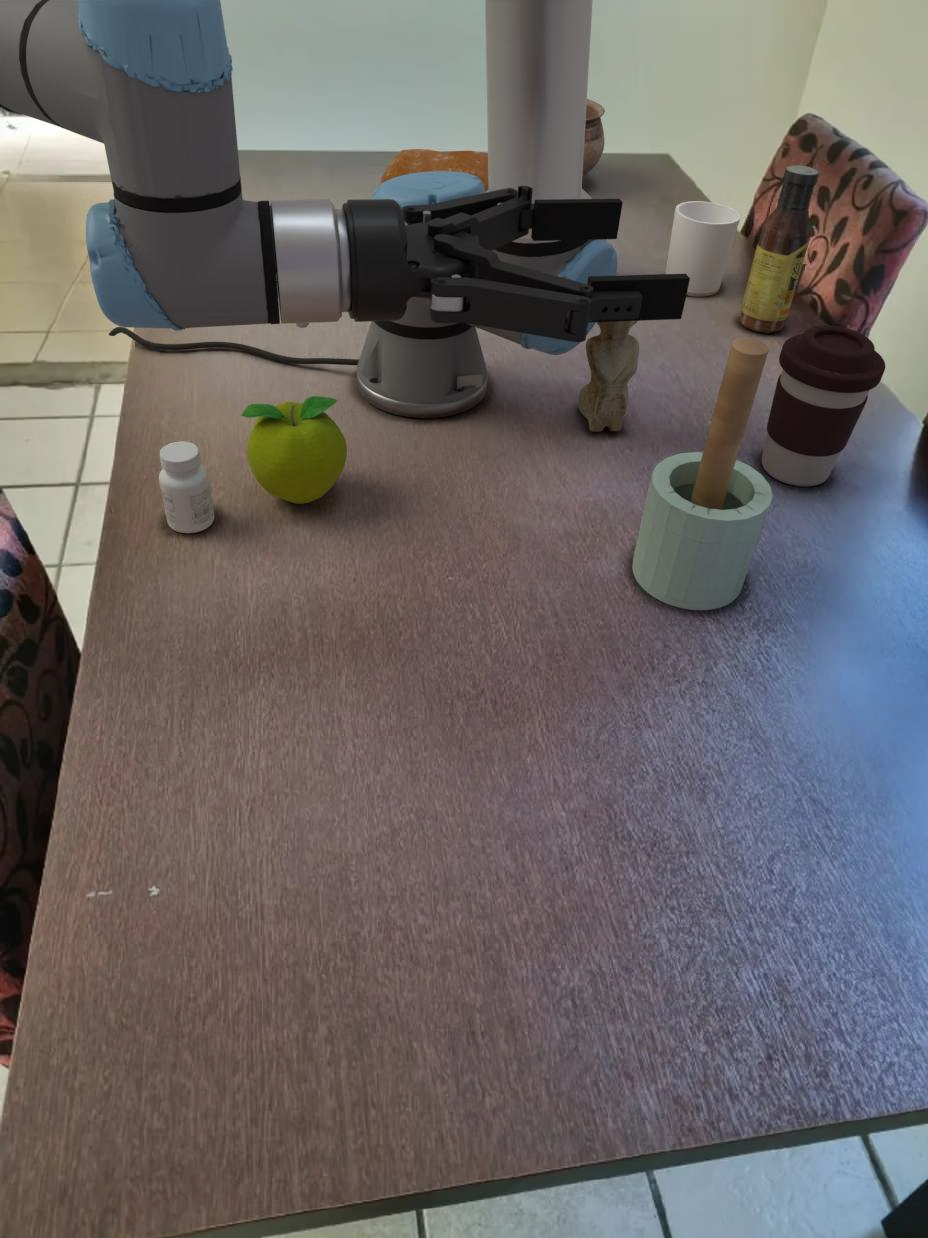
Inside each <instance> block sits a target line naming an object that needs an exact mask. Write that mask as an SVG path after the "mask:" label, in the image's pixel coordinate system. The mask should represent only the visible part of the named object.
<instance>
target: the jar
mask: <svg viewBox="0 0 928 1238" xmlns="http://www.w3.org/2000/svg"><path fill="white" fill-rule="evenodd" d="M702 454H703V451H693V452H681V453H677V454H674V455H670V456H668V457H666V458H664V459H662V460H661V461H660V462H658V463H657V464H656V465H655V466H654V469H653V471H652V473H651V477H650V481H649V486H648V491H647V494H646V498H645V503H644V508H643V512H642V516H641V521H640V525H639V526H640V527H639V530H638V534H637V539H636V544H635V548H634V552H633V558H632V559H633V560H632V567H631V568H632V573H633V576H634V579H635V581H636V583H638V585H639V586H640V587H641V588H642V589H643V590H644V591H645V592H646V593H647V594H649V596H651V597H653V598H654V599H656V600H658V601H659V602H662V603H664V604H666V605H669V606H673V607H675V608H679V609H683V610H689V611H710V610H716V609H720V608H724V607H725V606H727V605H730V604H731V603H733V602H734V601H735V600H736V599H737V598H738V597H739V596H740V594H741V592H742V589H743V587H744V583H745V581H746V578H747V575H748V572H749V569H750V566H751V562H752V560H753V557H754V554H755V551H756V548H757V545H758V542H759V539H760V536H761V534H762V530H763V527H764V524H765V521H766V518H767V515H768V512H769V509H770V506H771V503H772V500H773V496H774V495H773V491H772V488H771V484H769V482H768V481H767V480H766V478H765V476H763V474H761V473H760V472H759V471H757V469H754V468H753V467H752V466H751V465H749V464H746V463H745V462H742V461H740V460H738V459H736V463H735V466H734V470H733V473H732V476H731V480H730V483H729V487H728V490H727V493H726V497H725V500H724V504H723V507H722V509H723V510H719V509H709V508H706V507H702V506H699V505H695V504H693V503H691V502H689V501H690V500H691V496H692V492H693V488H694V484H695V481H696V477H697V473H698V469H699V466H700V462H701V458H702Z"/></svg>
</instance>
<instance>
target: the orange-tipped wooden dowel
mask: <svg viewBox="0 0 928 1238" xmlns="http://www.w3.org/2000/svg"><path fill="white" fill-rule="evenodd" d="M769 349H770V348H769V346H768V345H767V344H766V343H765V342H763V341H761V340H759V339H756V338H750V337H739V338H736V339H733V341H732V342H731V344H730V348H729V351H728V356H727V360H726V363H725V367H724V371H723V375H722V379H721V383H720V386H719V391H718V394H717V397H716V402H715V406H714V408H713V412H712V417H711V420H710V424H709V428H708V431H707V435H706V439H705V443H704V447H703V451H702V452H703V454H702V458H701V462H700V466H699V469H698V473H697V477H696V481H695V484H694V488H693V492H692V496H691V500H690V501H689V502H691V503H693V504H695V505H699V506H702V507H706V508H709V509H719V510H723V509H722V507H723V504H724V500H725V497H726V493H727V490H728V487H729V483H730V480H731V476H732V473H733V470H734V466H735V463H736V460H738V456H739V452H740V449H741V446H742V442H743V440H744V435H745V432H746V428H747V425H748V422H749V419H750V415H751V412H752V408H753V405H754V402H755V398H756V395H757V392H758V389H759V384H760V381H761V378H762V374H763V370H764V367H765V364H766V360H767V357H768V354H769Z"/></svg>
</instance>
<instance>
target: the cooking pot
mask: <svg viewBox="0 0 928 1238" xmlns="http://www.w3.org/2000/svg"><path fill="white" fill-rule="evenodd" d="M605 112H606V110H605V108H604V107H603V105H601V104H600V103H598V102H596V101H595V100H591V99H589V98H587V105H586V122H585V139H584V157H583V174H582V177H583V176H585V175H587V174H588V173H589V172H591V171H592V170H593V169H594V168H596V166H597V165H598V163H599V161H600V160H601V157H602V155H603V153H604V149H605V133H604V126H603V121H602V117H603V116H604V114H605Z"/></svg>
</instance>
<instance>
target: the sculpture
mask: <svg viewBox="0 0 928 1238" xmlns="http://www.w3.org/2000/svg"><path fill="white" fill-rule="evenodd" d="M637 323H638V321H617V322H596V325H598V327H599V330H600V333H599V334H597V335H593V336H591V337H589V338H587V339H586V343H585V352H586V358H587V361H588V366H589V369H590V381H589V383H587V384H585V385H584V386H582V387H581V389H580V391H579V394H578V398H577V400H578V401H577V405H578V409H579V412H580V413H581V415H582V416H583V417H584V418H586V419H587V421H588V429H589V431H590V432H594V433H595V432H602V431H603V430H604V429H605V427H607V429H608V431H609V432H619V431H621V430H622V428H623V422H624V417H625V416H626V413H627V411H628V407H629V388H628V385H629V384H628V383H629V381H630V380H631V379H632V378H633V377H634V375H636V373H637V370H638V365H639V363H638V362H639V354H640V343H639V341H638V339H637V338H636V337H635V336H633V335H630V334H629V332H630V330H631V329H632V328H633V326H634V325H636V324H637Z"/></svg>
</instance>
